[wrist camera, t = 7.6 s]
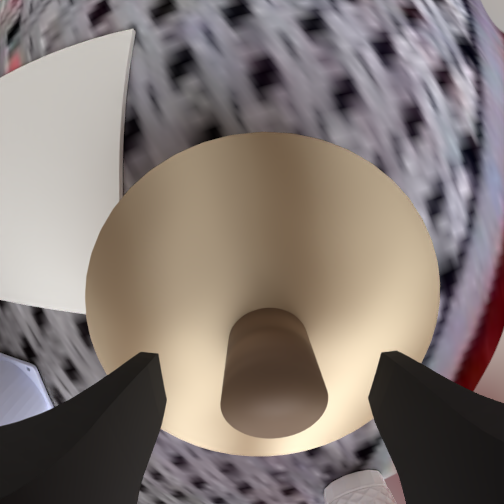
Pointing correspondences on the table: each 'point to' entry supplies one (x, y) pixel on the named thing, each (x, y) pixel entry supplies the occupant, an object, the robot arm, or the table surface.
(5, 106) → the white square mat
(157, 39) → the table surface
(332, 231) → the oak lid
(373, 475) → the white cup
